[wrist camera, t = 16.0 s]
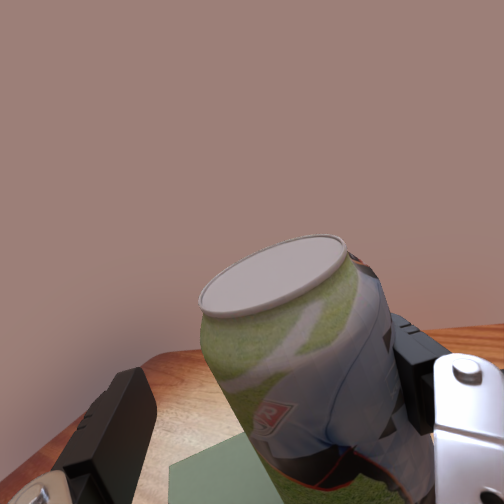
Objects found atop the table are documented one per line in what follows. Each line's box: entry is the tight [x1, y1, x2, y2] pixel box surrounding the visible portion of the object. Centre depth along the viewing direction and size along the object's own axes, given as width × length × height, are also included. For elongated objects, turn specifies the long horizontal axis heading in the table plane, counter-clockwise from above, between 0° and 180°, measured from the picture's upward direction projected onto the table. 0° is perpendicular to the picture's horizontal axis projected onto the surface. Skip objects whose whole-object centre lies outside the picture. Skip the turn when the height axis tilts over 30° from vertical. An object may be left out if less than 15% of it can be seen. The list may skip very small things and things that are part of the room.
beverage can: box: [198, 234, 436, 504], centre depth 10 cm, size 6×7×12 cm
